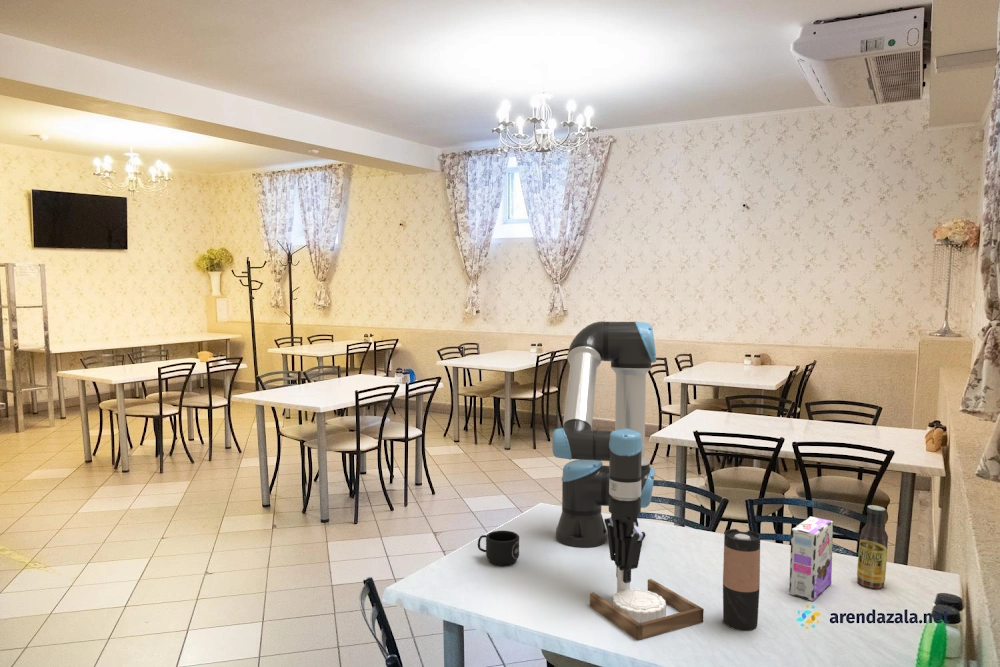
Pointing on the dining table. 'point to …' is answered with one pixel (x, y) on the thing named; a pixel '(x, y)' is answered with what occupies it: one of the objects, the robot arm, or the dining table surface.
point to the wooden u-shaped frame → (685, 618)
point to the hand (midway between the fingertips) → (623, 593)
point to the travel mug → (741, 579)
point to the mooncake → (640, 604)
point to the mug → (501, 547)
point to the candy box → (811, 558)
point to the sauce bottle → (873, 549)
